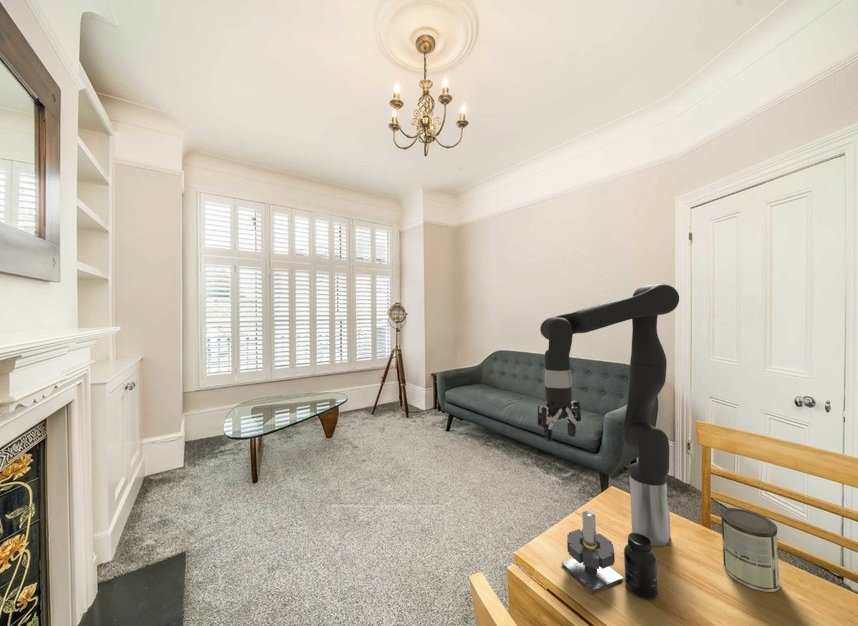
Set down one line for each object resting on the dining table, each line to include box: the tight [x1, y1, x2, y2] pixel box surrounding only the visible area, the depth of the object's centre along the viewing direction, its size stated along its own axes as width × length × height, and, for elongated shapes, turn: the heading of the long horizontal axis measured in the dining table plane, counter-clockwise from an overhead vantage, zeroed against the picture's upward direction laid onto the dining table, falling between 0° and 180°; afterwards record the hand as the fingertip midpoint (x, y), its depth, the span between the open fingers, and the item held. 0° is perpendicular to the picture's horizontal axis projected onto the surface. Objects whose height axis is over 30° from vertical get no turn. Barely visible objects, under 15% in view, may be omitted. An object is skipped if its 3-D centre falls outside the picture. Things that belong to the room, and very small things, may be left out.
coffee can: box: [720, 507, 781, 593], centre depth 83 cm, size 10×10×14 cm
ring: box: [566, 528, 616, 569], centre depth 86 cm, size 11×11×2 cm
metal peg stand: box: [561, 510, 624, 595], centre depth 86 cm, size 10×10×15 cm
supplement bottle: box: [623, 532, 659, 600], centre depth 81 cm, size 7×7×12 cm
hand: (560, 438), depth 99 cm, fingers open, 8 cm apart
